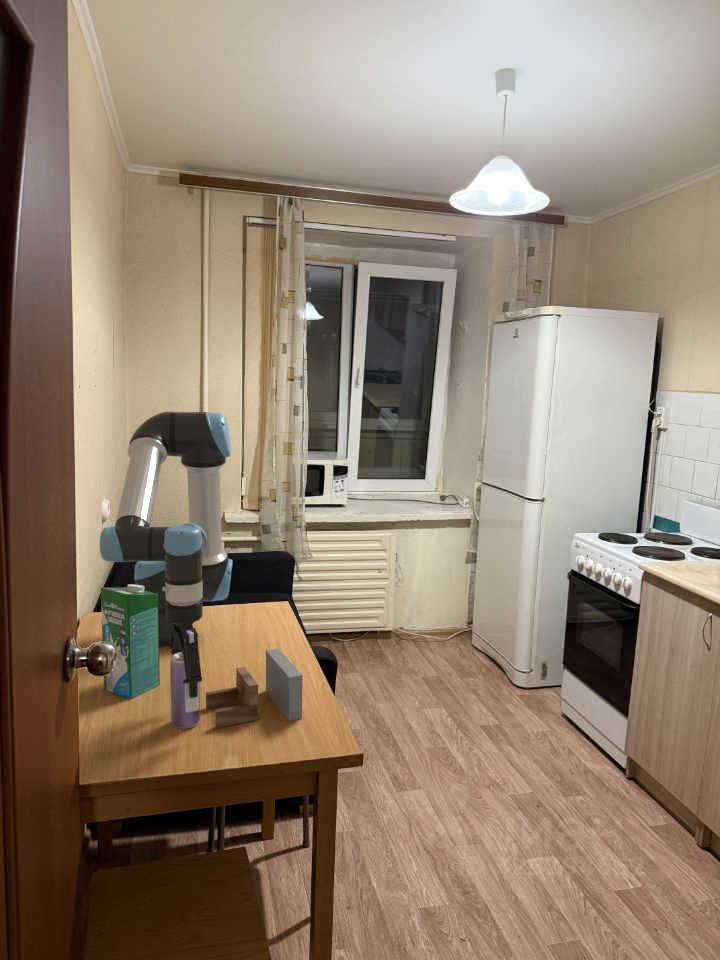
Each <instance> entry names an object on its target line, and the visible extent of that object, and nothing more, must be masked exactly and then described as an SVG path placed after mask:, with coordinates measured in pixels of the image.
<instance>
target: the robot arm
mask: <svg viewBox="0 0 720 960" xmlns="http://www.w3.org/2000/svg"><path fill="white" fill-rule="evenodd" d="M127 455H128V458H129V462H128V465H127V470H126V475H125V479H124V484H123V488H122V493H121V496H120V501H119V506H118V510H117V514H116V519H115V523H114V525H113V526H109V527H104V528H103V529H102V530H101V533H100V536H99V553H100V555H101V556H100V557H101V559H102V560H104V562H105V561H106V562H113V563H124V562H125V563H127V562H128V563H131V562H132V563H133V562H136V563H135V565H134V577H133V580H134V585H141V586H144V591H148V592H152V593H156V594H158V622H159V647H163V646H169V649H170V652H171V656H172V655H174V654H176V653H179V652H182V654H183V661H184V667H185V674H186V679H185V680H183V684H185V711H186V713H187V712H192V711H197V710H199V682H200V683H201V682H202V681H203V677H202V668H201V660H200V658H201V657H200V651H199V644H198V643H199V639H198V638H199V637H198V636H199V634H198V631H197V630H196V628H195V627H194V623H195V622H198V621H200V620H201V619H202V617H203V613H204V611H203V602H215V601H224V600H226V599H227V598H228V597H229V592H230V586H231V580H232V579H231V578H232V569H233V559H230V558H228V552H226V551H225V550H224V549H223V548H222V545H223V544H222V506H221V505H222V503H221V501H222V498H221V497H222V496H221V494H222V493H221V469H222V468H223V466H224V465H226V462H227V458H229V457H231V455H232V444H231V435H230V429H229V424H228V421H227V417H226V416H225V415H224V414H223V413H220V412H219V413H218V412H210V411H164V412H159V413H157V414H154V415H153V416H151V417H149V418H147V419H146V420H145V421H144V422H143V423H141V424H140V425H139V426H138V427H137V429H136V430H135V431H134V432H133V434H132V436H131V437H130V440H129V443H128V446H127ZM167 457H180V464H181V465H182V466H183V467H184V468H185V469H186V472H187V497H188V523H184V524H182V525H181V524H180V525H173V526H152V520H153V514H154V508H155V502H156V498H157V497H156V496H157V490H158V487H159V486H158V485H159V479H160V473H161V468H162V464H164V463H165V462H166V460H167Z"/></svg>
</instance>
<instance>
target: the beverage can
mask: <svg viewBox="0 0 720 960" xmlns="http://www.w3.org/2000/svg"><path fill="white" fill-rule="evenodd" d="M169 667H170V668H169V669H170V710H171V711H170V712H171V713H170V719H171V720H170V721H171V724H172V725H173V727H175V728H176V729H180V730H188V729H191V728H194V727H196V726H197V725H198V724H199V723H200V720H201V685H200V683H201V682H199V710H197V711H192V712H187V713H186V711H185V684H183V680H185V679H186V674H185V667H184V661H183V654H182V652H179V653H176V654H174V655H172V654H171V657H170V662H169Z"/></svg>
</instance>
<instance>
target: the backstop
mask: <svg viewBox="0 0 720 960" xmlns="http://www.w3.org/2000/svg"><path fill="white" fill-rule="evenodd" d="M265 692H266V693H267V695H269V697H270V698H271V700H272V701H273V702H274V703H275V705H276V706H277V707H278V709H279V710H280V711H281V713H282V714H283V715H284V716H285V718H286V719H287V720H288V722H290V721H297V720H301V719H303V674H302V673H301V671H300V670H298V668H297V667H296V666H295V665H294V664H293V663H292V662H291V661H290V660H289V659H288V658H287V657H286V656H285V654H284V653H283V652H282V651H281V650H280V649H279V648H274V649H273V648H272V649H266V650H265Z"/></svg>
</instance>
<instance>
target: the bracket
mask: <svg viewBox="0 0 720 960" xmlns="http://www.w3.org/2000/svg"><path fill="white" fill-rule="evenodd" d="M235 670H236V671H235V672H236V674H235V676H236V678H235V681H236V683H235V684H236V685H235V686H234V687H229V688H225V689H218V690H212V691H208V692H205V708H206V710H212V709H215V727H216V728H217V729H219V728H224V727H229V726H234V725H240V724H243V723H248V722H253V721H258V720H259V684H258V683H257V681H256V680H255V678H254V677H253V676H252V674H251V673H250V672H249V670H248V669H247V668H246V666H243V667H237V668H236V669H235ZM228 706H229V707H228ZM223 707H224V708H223ZM218 708H219V709H218Z"/></svg>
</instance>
